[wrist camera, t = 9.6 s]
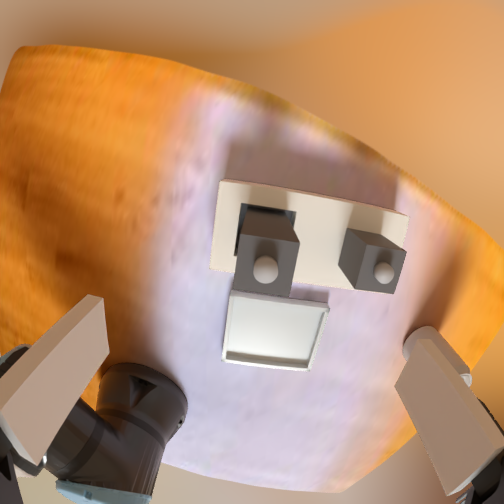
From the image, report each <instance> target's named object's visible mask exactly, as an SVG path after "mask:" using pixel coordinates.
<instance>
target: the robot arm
mask: <svg viewBox="0 0 504 504" xmlns="http://www.w3.org/2000/svg"><path fill="white" fill-rule="evenodd" d="M109 353H110V352H109V345H108V337H107V329H106V320H105V310H104V299H103V298H101V297H97V296H93V295H89V294H87V295H86V296H85V297H84V298H83V299H82V300H81V301H80V302H78V303H77V304H76V305H75V306H74V307H73V308H72V309H71V310H70V311H68V312H67V313H66V314H65V315H64V316H63V317H62V318H61V319H60V320H59V321H58V322H56V323H55V324H54V325H53V326H52V327H51V328H50V329H49V330H48V331H47V332H46V333H45V334H44V335H43V336H42V337H41V338H40V339H39V340H38V341H37V342H36V343H34V344H33V345H29V344H21V345H19V346H17V347H15V348H14V349H12V350H11V351H9V352H8V353H6V354H5V355H3V356H2V357H0V504H23V501H22V497H21V494H20V490H19V486H18V482H17V479H18V478H19V477H30V478H35V477H36V476H37V475H38V474H39V473H40V471H41V470H42V469H43V468H45V469H46V470H48V471H49V472H51V473H52V474H53V475H55V476H56V477H57V478H58V480H57V481H56V489H57V490H58V492H60V493H61V494H62V495H63V496H65V497H66V498H68V499H70V500H71V501H73V502H75V503H77V504H149V502H150V500H151V499H152V493H153V489H154V485H155V481H156V478H157V474H158V470H159V467H160V463H161V459H162V456H163V452H164V449H165V446H166V444H167V443H168V442H169V440H170V439H171V438H172V437H173V436H174V434H175V433H176V432H177V431H178V429H179V428H180V427H181V426H182V424H183V423H184V421H185V417H186V414H187V409H188V405H187V401H186V398H185V396H184V394H183V393H182V391H181V390H180V389H179V388H178V387H177V386H176V385H175V384H174V383H173V382H172V381H171V380H170V379H168V378H167V377H166V376H164V375H162V374H161V373H159V372H157V371H155V370H153V369H151V368H148V367H145V366H142V365H138V364H133V363H121V364H116V365H114V366H112V367H110V368H109V369H108V370H107V371H106V373H105V374H104V376H103V377H102V379H101V381H100V385H99V392H98V398H97V406H96V411H94V410H93V409H92V408H91V407H90V406H89V405H88V404H87V403H86V402H85V401H84V400H83V399H82V398H81V397H80V396H81V394H82V393H83V391H84V390H85V388H86V387H87V385H88V384H89V382H90V381H91V379H92V378H93V376H94V375H95V373H96V372H97V370H98V369H99V367H100V366H101V364H102V363H103V361H104V360H105V358H106V357H107V356H108V354H109ZM395 388H396V390H397V392H398V394H399V396H400V398H401V400H402V402H403V404H404V406H405V408H406V410H407V412H408V414H409V416H410V418H411V420H412V422H413V424H414V426H415V428H416V430H417V432H418V434H419V436H420V438H421V440H422V442H423V444H424V446H425V449H426V451H427V453H428V455H429V457H430V459H431V462H432V464H433V466H434V468H435V471H436V473H437V475H438V477H439V480H440V482H441V484H442V487H443V489H444V492H445V494H446V496H448V495H451V494H453V493H455V492H458V491H460V490H462V489H463V488H464V487H465V486H466V485H467V484H469V482H472V484H473V486H471V487H470V489H468V490H467V491H466V492H465V493H463V494H462V495H461V496H460V497H458V498H457V500H456V503H458V502H459V501H460V500H462V499H463V498H464V497H466V499H464V500H463V501H462V502H461V503H460V504H504V431H503V430H502V428H501V427H500V425H499V424H498V422H497V421H496V420H494V417H493V415H492V414H491V413H490V411H489V410H488V408H487V407H486V405H485V404H484V403H483V402H482V401H481V400H479V399H478V398H477V397H476V396H475V395H474V393H473V392H472V391H471V390H470V388H469V387H468V385H467V384H466V383H465V381H464V380H463V379H462V378H461V376H460V375H459V374H458V372H457V371H456V370H455V369H454V367H453V366H452V365H451V364H450V362H449V361H448V360H447V359H446V357H445V356H444V355H443V354H442V352H441V351H440V350H439V349H438V348H437V346H436V345H435V344H434V343H433V342H432V340H431V339H417V342H416V344H415V346H414V348H413V350H412V352H411V355H410V357H409V359H408V361H407V363H406V365H405V367H404V369H403V371H402V373H401V375H400V377H399V378H398V380H397V382H396V384H395Z"/></svg>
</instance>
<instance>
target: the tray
mask: <svg viewBox="0 0 504 504" xmlns="http://www.w3.org/2000/svg"><path fill="white" fill-rule="evenodd" d="M329 311H330V308H329V305H328V303H322V302H314V301H306V300H298V299H291V298H283V297H276V296H269V295H262V294H255V293H248V292H241V291H235V290H231V293H230V298H229V306H228V314H227V321H226V329H225V337H224V345H223V353H222V362H229V363H235V364H242V365H250V366H258V367H266V368H275V369H285V370H296V371H309V372H310V370H311V367H312V364H313V361H314V358H315V355H316V352H317V349H318V346H319V343H320V340H321V337H322V334H323V330H324V327H325V324H326V321H327V317H328V314H329Z"/></svg>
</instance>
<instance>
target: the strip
mask: <svg viewBox="0 0 504 504" xmlns="http://www.w3.org/2000/svg"><path fill="white" fill-rule="evenodd" d="M248 206H249V207H255V208H262V209H268V210H274V211H281V212H285V213H286V215H287V217H288V219H289V221H290V223H291V225H292V227H293V229H294V231H295V233H296V235H297V237H298V239H299V241H300V247H299V252H298V257H297V261H296V266H295V271H294V276H293V280H292V282H299V283H306V284H313V285H321V286H328V287H336V288H343V289H351V290H359V291H367V292H375V293H384V294H394V292H395V289H396V286H397V283H398V280H399V277H400V273H401V270H402V267H403V263H404V260H405V256H406V253H407V252H406V251H405V250H403V249H402V247H403V243H404V239H405V235H406V231H407V227H408V223H409V218H410V217H409V216H407V215H404V214H402V213H400V212H397V211H395V210H391V209H387V208H383V207H378V206H374V205H370V204H365V203H361V202H356V201H351V200H347V199H342V198H337V197H332V196H327V195H322V194H317V193H311V192H306V191H300V190H295V189H289V188H283V187H277V186H271V185H265V184H258V183H252V182H245V181H238V180H231V179H223V180H221V181H220V183H219V191H218V198H217V206H216V214H215V222H214V231H213V239H212V248H211V257H210V266H209V269H211V270H218V271H224V272H231V273H235V267H236V260H237V253H238V246H239V239H240V233H241V229H242V226H243V222H244V219H245V215H246V212H247V208H248Z"/></svg>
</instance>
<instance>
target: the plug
mask: <svg viewBox="0 0 504 504" xmlns="http://www.w3.org/2000/svg"><path fill="white" fill-rule="evenodd" d="M299 247H300V241H299V239H298V237H297V235H296V233H295V231H294V229H293V227H292V225H291V223H290V221H289V219H288V217H287V215H286V213H285V212H281V211H274V210H268V209H262V208H255V207H249V206H248V208H247V212H246V215H245V219H244V222H243V226H242V229H241V233H240V239H239V246H238V253H237V260H236V267H235V275H234V282H233V289H236V290H243V291H250V292H257V293H264V294H271V295H278V296H285V297H289V294H290V290H291V285H292V280H293V276H294V271H295V266H296V261H297V257H298V252H299Z"/></svg>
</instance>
